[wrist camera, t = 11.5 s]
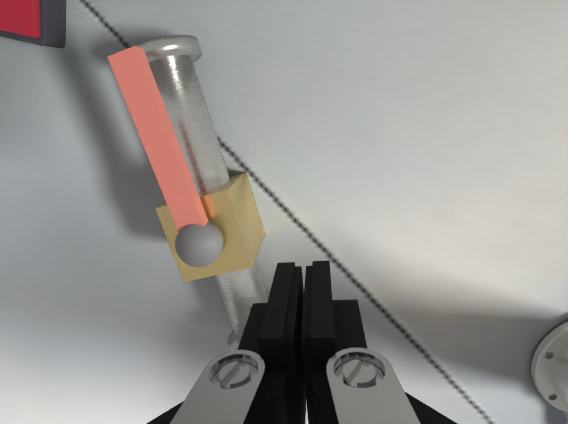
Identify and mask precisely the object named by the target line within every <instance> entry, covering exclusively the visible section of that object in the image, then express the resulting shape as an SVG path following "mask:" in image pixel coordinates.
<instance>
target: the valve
mask: <svg viewBox="0 0 568 424" xmlns="http://www.w3.org/2000/svg"><path fill="white" fill-rule="evenodd" d="M136 46H137V47H140V48H143V50H144V52H145V55H146V58H147V60H148V63H149V66H150V68H151V71H152V73H153V76H154V79H155V81H156V84H157V87H158V89H159V92H160V95H161V97H162V100H163V102H164V105H165V108H166V110H167V113H168V116H169V118H170V121H171V124H172V126H173V129H174V132H175V134H176V137H177V139H178V142H179V145H180V147H181V150H182V153H183V155H184V158H185V161H186V163H187V166H188V168H189V171H190V174H191V176H192V179H193V182H194V184H195V187H196V190H197V192H198V195H199V197H200V200H201V203H202V205H203V208H204V211H205V213H206V216H207V219H208V220H209V221H211V222H213V223H215V224H216V225H217V226H218V227H219V228H220V229H221V231H222V233H223V236H224V247H223V249H222V251H221V253H220V254H219V256H218V257H217V259H216V260H215V261H214V262H213V263H212V264H211V265H209V266H206V267H202V268H197V267H192V266H190V265H188V264H186V263H184V262H183V261H182V260H181V259H180V258H179V256H178V254H177V252H176V249H175V239H176V236H177V235H178V230H177V228H176V225H175V223H174V220H173V218H172V215H171V213H170V210H169V208H168V205H167V203H166V202H165V203H163V204H162V205H160V206H158V207H157V208H155V209H156V211H157V214H158V217H159V219H160V222H161V225H162V227H163V230H164V232H165V235H166V238H167V240H168V243H169V245H170V248H171V251H172V253H173V256H174V259H175V261H176V264H177V266H178V269H179V272H180V274H181V277H182V279H183V282H187V281H192V280H197V279H201V278H206V277H211V276H215V279H216V282H217V285H218V287H219V290H220V293H221V296H222V299H223V302H224V304H225V307H226V310H227V313H228V316H229V318H230V321H231V324H232V327H233V331H232V332H231V334H230V335H229V338H228V345H229V348H230V350H231V351H234V350H237V349H238V346H239V343H240V340H241V337H242V334H243V331H244V328H245V325H246V322H247V319H248V316H249V313H250V310H251V307H252V305H253V303H267V302H268V297H267V294H266V290H265V287H264V284H263V281H262V278H261V275H260V272H259V268H258V265H257V262H256V257H257V254H258V252H259V249H260V247H261V245H262V242H263V240H264V237H265V232H264V229H263V225H262V222H261V219H260V216H259V212H258V209H257V206H256V202H255V199H254V196H253V192H252V189H251V186H250V183H249V179H248V176H247V173H242V174H238V175H234V176H230V177H229V174H228V171H227V168H226V165H225V161H224V158H223V155H222V152H221V149H220V146H219V143H218V139H217V136H216V133H215V130H214V127H213V124H212V121H211V117H210V114H209V111H208V108H207V105H206V102H205V99H204V95H203V92H202V89H201V86H200V83H199V80H198V77H197V73H196V70H195V67H194V64H193V62H194V61H196V60H198V59H199V58H200V57H201V56H202V51H201V48H200V45H199V41H198V39H197V38H196V37H194V36H190V35H174V36H167V37H161V38H157V39H153V40H149V41H146V42H143V43H140V44H138V45H136Z"/></svg>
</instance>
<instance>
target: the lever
mask: <svg viewBox="0 0 568 424" xmlns="http://www.w3.org/2000/svg"><path fill="white" fill-rule="evenodd" d="M107 58H108V60H109V62H110V65H111V67H112V70H113V72H114V75H115V77H116V80H117V82H118V85H119V87H120V90H121V92H122V95H123V97H124V99H125V102H126V104H127V107H128V109H129V112H130V114H131V117H132V119H133V122H134V124H135V127H136V129H137V131H138V134H139V136H140V139H141V141H142V144H143V146H144V149H145V151H146V154H147V156H148V159H149V161H150V164H151V166H152V168H153V171H154V173H155V176H156V178H157V181H158V183H159V186H160V188H161V191H162V193H163V196H164V198H165V201H166V203H167V205H168V208H169V210H170V213H171V215H172V218H173V220H174V223H175V225H176V228H177V230H178V235H177V236H176V239H175V249H176V252H177V254H178V256H179V258H180V259H181V260H182V261H183V262H184V263H186V264H188V265H190V266H192V267H197V268H202V267H206V266H209V265H211V264H212V263H213V262H214V261H215V260H216V259H217V257H218V256H219V254H220V253H221V251H222V249H223V247H224V236H223V233H222V231H221V229H220V228H219V227H218V226H217V225H216V224H215V223H213V222H211V221H209V220H208V219H207V216H206V213H205V211H204V208H203V205H202V203H201V200H200V197H199V195H198V192H197V190H196V187H195V184H194V182H193V179H192V176H191V174H190V171H189V168H188V166H187V163H186V161H185V158H184V155H183V153H182V150H181V147H180V145H179V142H178V139H177V137H176V134H175V132H174V129H173V126H172V124H171V121H170V118H169V116H168V113H167V110H166V108H165V105H164V102H163V100H162V97H161V95H160V92H159V89H158V87H157V84H156V81H155V79H154V76H153V73H152V71H151V68H150V66H149V63H148V60H147V58H146V55H145V52H144V50H143V48H140V47H137V46H133V47H131V48H128V49H125V50H123V51H120V52H118V53H115V54H112V55H110V56H107Z"/></svg>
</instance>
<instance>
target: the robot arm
mask: <svg viewBox="0 0 568 424" xmlns="http://www.w3.org/2000/svg"><path fill="white" fill-rule="evenodd" d="M531 375H532V379H533V382H534V384H535V386H536V388H537V390H538V391H539V392H540V393H541V395H542V396H543V397H544V399H546V400H547V401H548V402H549V403H550V404H551V405H553V406H554V407H556V408H558V409H559V410H562V411H564V412H567V413H568V321H567V322H565V323H563V324H562V325H560V326H559V327H557V328H555V329H554V330H553V331H552V332H550V333H549V334H548V335H547V336H546V337H545V338H544V339H543V340H542V342H541V343H540V344H539V346H538V347H537V349H536V351H535V353H534V355H533V359H532V363H531ZM306 400H307V411H308V422H309V424H457V423H455V422H454V421H452V420H450V419H449V418H447V417H446V416H444V415H442V414H441V413H439V412H437V411H436V410H434V409H432V408H431V407H429V406H427V405H426V404H424V403H422V402H421V401H419V400H417V399H416V398H414V397H413V396H411V395H409V394H408V393H406V392H404V390H403V388H402V386H401V384H400V382H399V380H398V378H397V376H396V374H395V372H394V370H393V368H392V366H391V364H390V363H389V362H388V360H387V359H386V358H385V357H384V356H382V355H381V354H379V353H378V352H375V351H373V350H370V349H367V345H366V340H365V335H364V330H363V325H362V320H361V315H360V311H359V306H358V301H357V300H332V291H331V277H330V263H329V261H313V265H312V266H306V276H305V290H304V289H303V278H302V268H301V266H297V267H295V262H289V263H278V264H277V268H276V271H275V275H274V279H273V283H272V287H271V291H270V295H269V298H268V302H267V303H253V305H252V307H251V310H250V313H249V316H248V319H247V322H246V325H245V328H244V331H243V334H242V337H241V340H240V343H239V346H238V349H237V350H234V351H229V352H226V353H224V354H221V355H219V356H217V357H216V358H215V359H213V360H212V361H211V362H210V363H209V364H208V365H207V366H206V367H205V369H204V371H203V372H202V374H201V375H200V377H199V378H198V380H197V382H196V383H195V385H194V386H193V388H192V389H191V391H190V393H189V394H188V396H187V397H186V399H185V400H184V401H183V402H182V403H180V404H178V405H177V406H175V407H173V408H172V409H170V410H168V411H167V412H165V413H163V414H162V415H160V416H158V417H157V418H155V419H153V420H152V421H150V422H148V423H147V424H305V413H306Z"/></svg>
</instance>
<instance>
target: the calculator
mask: <svg viewBox="0 0 568 424" xmlns="http://www.w3.org/2000/svg"><path fill="white" fill-rule="evenodd" d="M65 35H66V0H0V36H3V37H8V38H12V39H17V40H21V41H25V42H30V43H34V44H39V45H44V46H51V47H58V48H63V47H64V46H65Z"/></svg>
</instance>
